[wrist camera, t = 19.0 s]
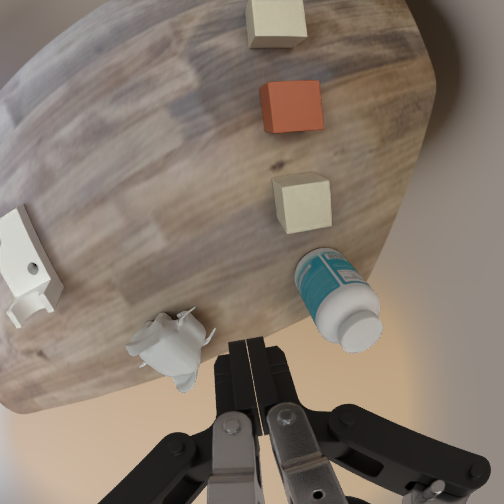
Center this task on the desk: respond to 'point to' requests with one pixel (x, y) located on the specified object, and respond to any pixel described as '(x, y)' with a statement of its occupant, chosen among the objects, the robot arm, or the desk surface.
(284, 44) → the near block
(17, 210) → the bracket
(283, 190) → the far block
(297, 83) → the block
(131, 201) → the desk surface
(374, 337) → the pill bottle
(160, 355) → the elephant figurine
